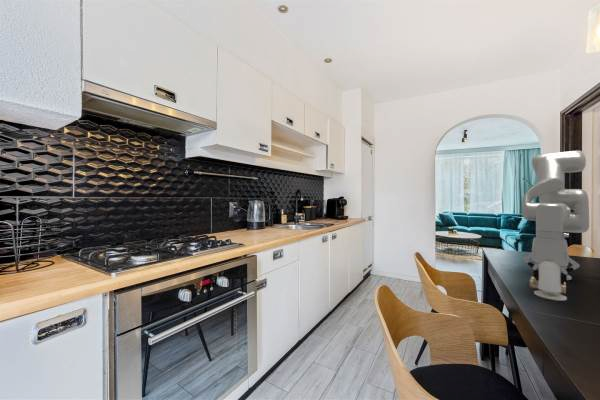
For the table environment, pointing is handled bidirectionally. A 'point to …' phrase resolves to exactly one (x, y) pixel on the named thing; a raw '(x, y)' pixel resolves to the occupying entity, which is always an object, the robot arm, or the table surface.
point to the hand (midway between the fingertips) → (549, 281)
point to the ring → (535, 285)
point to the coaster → (550, 295)
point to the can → (549, 277)
